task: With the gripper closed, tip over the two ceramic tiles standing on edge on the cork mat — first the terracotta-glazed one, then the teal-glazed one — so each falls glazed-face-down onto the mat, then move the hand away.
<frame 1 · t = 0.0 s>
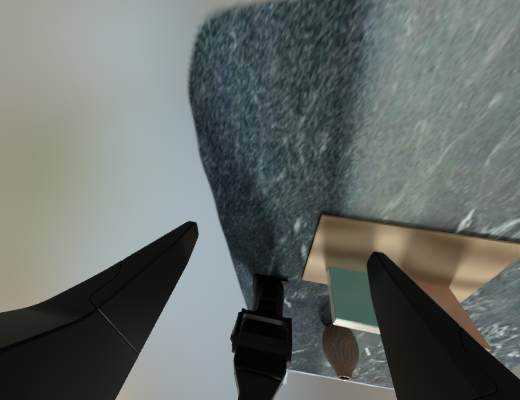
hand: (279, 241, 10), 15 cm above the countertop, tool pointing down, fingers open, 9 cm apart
terracotta tile: (421, 286, 30), resting on cork mat
vase: (337, 325, 43), on the countertop
cork mat: (393, 264, 29), on the countertop
teal tile: (349, 273, 31), resting on cork mat
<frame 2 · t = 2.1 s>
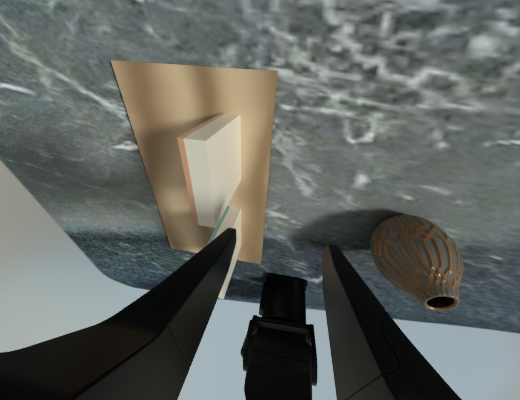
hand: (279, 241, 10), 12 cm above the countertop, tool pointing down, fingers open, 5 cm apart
terracotta tile: (232, 149, 20), resting on cork mat
vase: (395, 227, 22), on the countertop
cork mat: (207, 188, 24), on the countertop
teal tile: (234, 227, 26), resting on cork mat
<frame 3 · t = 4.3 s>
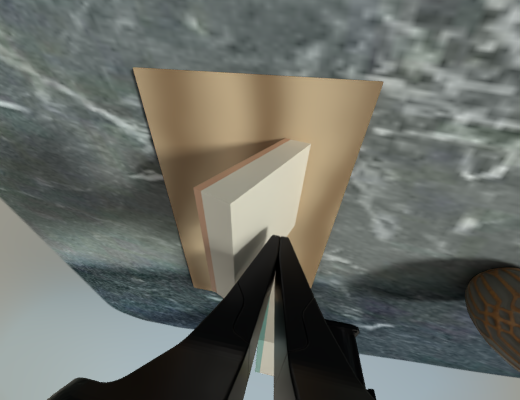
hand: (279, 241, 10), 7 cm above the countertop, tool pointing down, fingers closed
terracotta tile: (290, 186, 14), point 1 cm above the countertop, tilted 22°, touching cork mat
vase: (495, 279, 17), on the countertop
cork mat: (248, 226, 19), on the countertop
teal tile: (277, 270, 21), resting on cork mat
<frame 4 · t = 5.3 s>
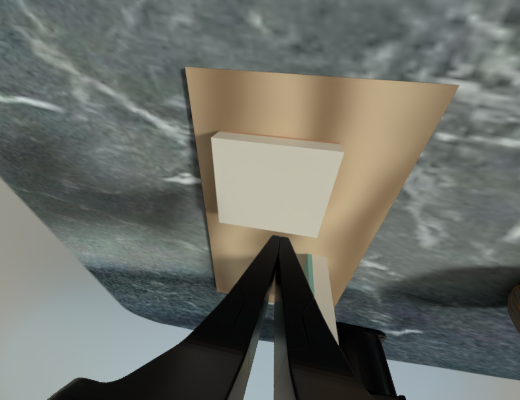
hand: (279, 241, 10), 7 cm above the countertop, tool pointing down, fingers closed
terracotta tile: (327, 194, 14), point 1 cm above the countertop, tilted 90°, touching cork mat
cork mat: (284, 231, 18), on the countertop
teal tile: (309, 276, 21), resting on cork mat
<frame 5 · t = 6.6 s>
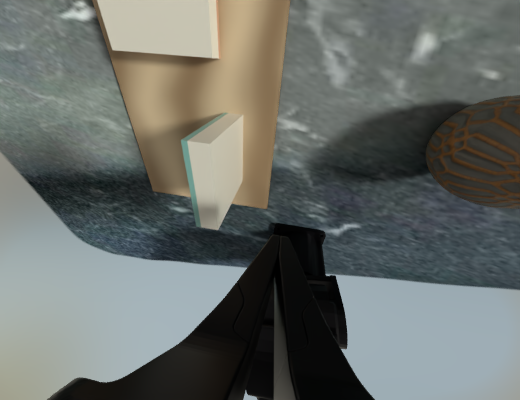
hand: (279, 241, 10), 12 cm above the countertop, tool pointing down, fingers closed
vase: (459, 136, 16), on the countertop
cork mat: (196, 84, 17), on the countertop
teal tile: (234, 150, 20), resting on cork mat
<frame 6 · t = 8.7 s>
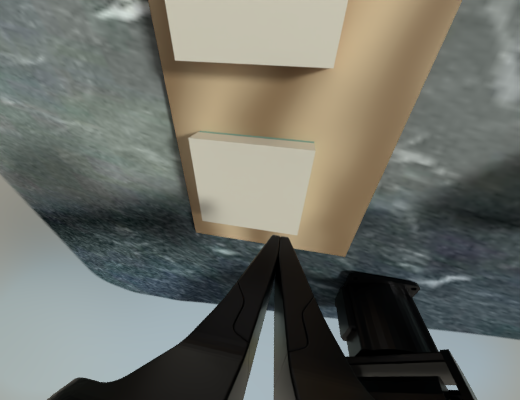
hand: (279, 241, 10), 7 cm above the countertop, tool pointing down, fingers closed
cork mat: (280, 104, 12), on the countertop
teal tile: (304, 192, 14), point 1 cm above the countertop, tilted 90°, touching cork mat
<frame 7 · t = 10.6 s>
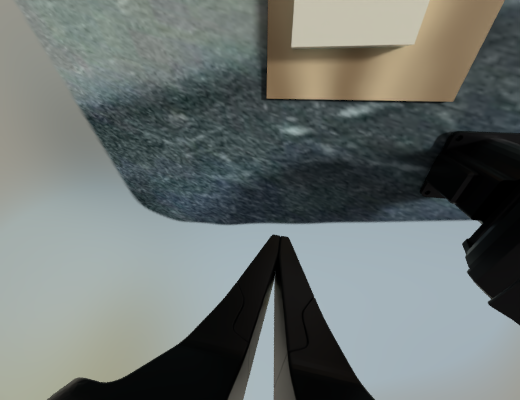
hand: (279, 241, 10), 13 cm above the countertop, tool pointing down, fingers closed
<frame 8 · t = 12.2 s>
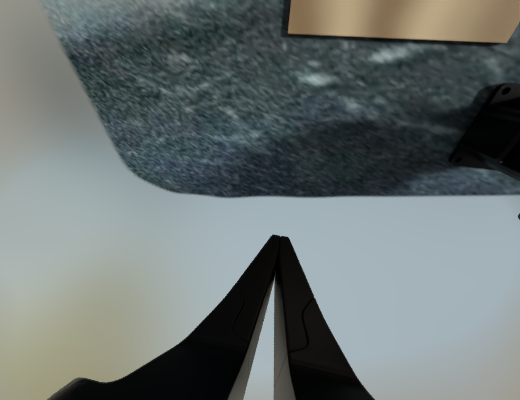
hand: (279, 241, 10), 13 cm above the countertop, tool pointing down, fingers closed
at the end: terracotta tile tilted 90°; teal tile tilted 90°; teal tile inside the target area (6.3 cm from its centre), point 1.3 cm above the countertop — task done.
